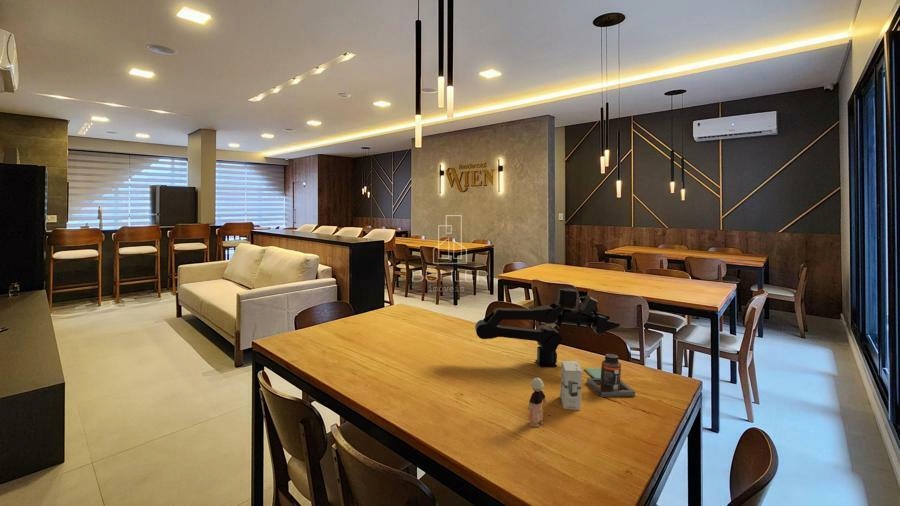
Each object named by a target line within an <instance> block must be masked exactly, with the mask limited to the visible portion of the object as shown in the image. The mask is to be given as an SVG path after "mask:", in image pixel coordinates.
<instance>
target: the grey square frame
mask: <svg viewBox="0 0 900 506" xmlns="http://www.w3.org/2000/svg"><path fill="white" fill-rule="evenodd" d="M586 384H588V386H590V388H591V389H593V391H594V392H595V393H596V394H597V395H599V396H600V397H601V398H602V397H603V398H607V397H608V398H612V397H618V398H619V397H620V398H621V397H636V391H635V390H634V389H632V388H631V387H630V386H629V385H627V384H626V383H625V382H624V381H623V380H621V379H620V389H621V390H603V389H602V388H601V386H599V385H600V384H601V378H593V377H590V378H589V377H588V378H586Z"/></svg>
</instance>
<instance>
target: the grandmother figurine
mask: <svg viewBox="0 0 900 506" xmlns="http://www.w3.org/2000/svg"><path fill="white" fill-rule="evenodd" d="M530 382H531V383H530V384H531V388H532V391H533V392H532V393H531V396H530V398H529V401H528V406H527V409H528V410H529V414H528V421H529V426H530V427H534V428H540V425H543V424H544V416H543V415H544V411H543V410H544V409H543V405H542V403H545V404H546V403H547V398H546V395H545V393H544V391H543V390H542V389H544V387H545V385H544V381H543V380H542V379H541V378H539V377H534V378H533V379H531V381H530Z"/></svg>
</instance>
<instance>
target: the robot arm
mask: <svg viewBox="0 0 900 506" xmlns="http://www.w3.org/2000/svg"><path fill="white" fill-rule="evenodd" d="M578 293H579V291H578V290H576V289H573V288H568V287H567V288H559V289H558V296H557V300H555V301H554V302H552V303H550V304H546V305H540V306H536V307H532V308H520V307H519V308H518V307H517V308H515V307H514V308H513V307H512V308H511V307H505V308H504V307H496V308H494V310H493V311H492V312H491V313H489V314H487V315H486V316H485V317H484V318H483V319H480V320H478V321H477V322H476V323H475V325H474V329H475V333H476V335H477V337H478V338H479V339H481V340H491V339H497V338H505V339H506V338H507V339H514V340H521V341H522V340H524V341H534V342H537V345H538V346H537V347H536V348H537V349H536V351H537V352H536V359H535V362H536V364H537V365H538V366H539V367H540V368H542V367H546V368H548V367H550V368H551V367H555V368H556V367H558V365H557V361H558V353H557V349H558V347H559V346H560V345H561V343H562V341H563V337H562V334H560V333H559V332H558V330H556V328H554V327H553V326H551V324H555V325H556V327H557V328H558V329H560V330H561V329H562V326H563V325H564V324H565V325H571V326H576V327H579V328H581V326H583V327H587V328H589V329H591V328H592V330H593V332H595V333H596V334H597V335H600V336H601V335H604V334H605V333H606V332H608V331H611V330H613V329H616V328H618V327H620V326H621V323H619V322H615V321H612V320H610V319H611V316H610V315H607V314H603V313H601V312H597V311H596V310H595V307H596V306H597V305H598V302H599V301H598V300H597V299H596V298H594V297H592V296H590V295H584V296H579V302H580V307H576V308H575V306H576V305H577V300H578ZM573 308H575V309H573ZM503 320H504V321H505V320H506V321H507V320H509V321H510V320H513V321H515V320H517V321H520V320H521V321H527V320H528V321H536V322H540V323H543V324H550V325H543V324H540V328H536V329H535V328H526V327H516V326H509V325H501V324H500V323H501V322H502V321H503ZM499 324H500V325H499Z"/></svg>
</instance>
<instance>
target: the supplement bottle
mask: <svg viewBox="0 0 900 506" xmlns="http://www.w3.org/2000/svg"><path fill="white" fill-rule="evenodd" d="M621 373H622V364H621V363H620V362H619V356H618V355H617V354H614V353H606V354H605V355H604V360H602V362H601V384H599V385H600V388H601V389H602V390H620V389H621V387H620V380H621V375H622V374H621Z"/></svg>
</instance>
